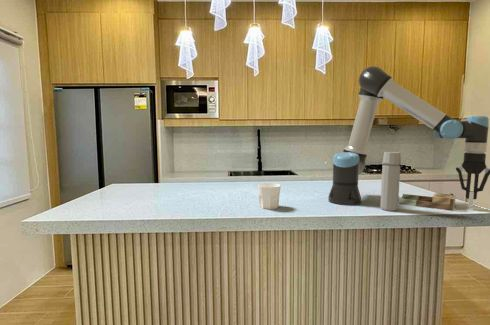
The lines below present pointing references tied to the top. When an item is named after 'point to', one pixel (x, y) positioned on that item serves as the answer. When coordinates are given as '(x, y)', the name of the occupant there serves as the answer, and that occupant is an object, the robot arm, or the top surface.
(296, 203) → the top surface
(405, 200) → the bay
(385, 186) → the water bottle
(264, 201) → the cup
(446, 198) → the crate
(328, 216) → the top surface
